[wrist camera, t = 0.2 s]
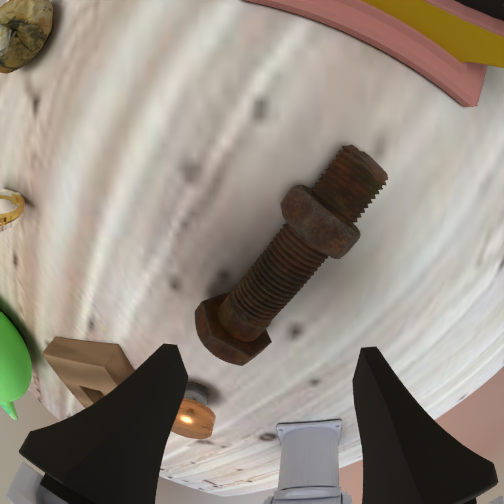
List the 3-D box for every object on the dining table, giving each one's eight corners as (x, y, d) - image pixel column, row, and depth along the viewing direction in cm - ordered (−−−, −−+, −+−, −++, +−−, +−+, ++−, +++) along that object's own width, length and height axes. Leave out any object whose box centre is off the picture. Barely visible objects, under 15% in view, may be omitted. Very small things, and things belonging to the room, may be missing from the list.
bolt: (360, 161, 17) (242, 310, 23) (313, 119, 14) (188, 299, 20) (421, 204, 13) (266, 369, 19) (382, 156, 10) (206, 367, 16)
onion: (77, -13, 10) (16, -32, 3) (57, 62, 14) (-16, 60, 7) (28, 13, 11) (-27, 7, 3) (13, 80, 14) (-48, 87, 7)
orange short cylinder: (226, 405, 28) (218, 441, 23) (182, 402, 29) (171, 435, 24) (213, 376, 26) (201, 416, 21) (165, 373, 27) (149, 409, 22)
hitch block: (166, 415, 31) (158, 435, 28) (103, 402, 34) (94, 418, 30) (118, 344, 26) (104, 366, 23) (55, 336, 28) (41, 353, 25)
